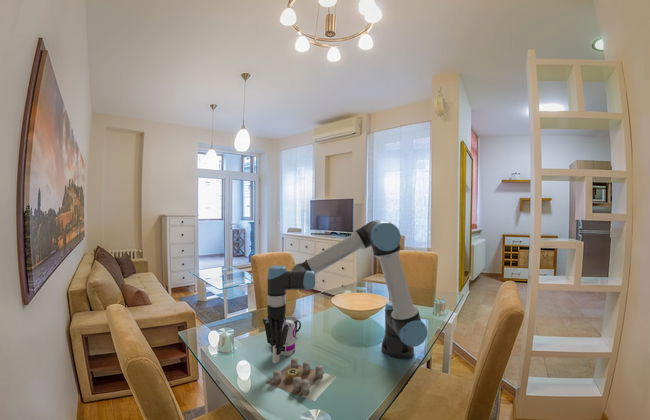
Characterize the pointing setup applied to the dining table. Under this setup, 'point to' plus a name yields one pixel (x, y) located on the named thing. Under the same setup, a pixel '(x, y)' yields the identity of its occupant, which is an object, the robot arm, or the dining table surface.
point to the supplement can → (289, 340)
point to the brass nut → (292, 374)
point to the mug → (295, 323)
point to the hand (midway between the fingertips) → (276, 361)
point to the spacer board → (290, 383)
